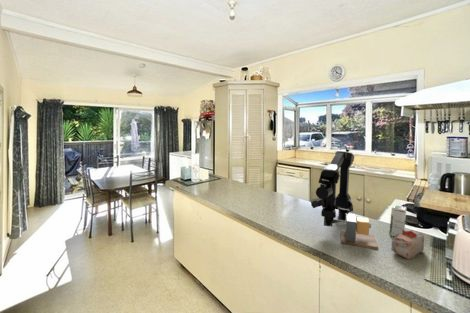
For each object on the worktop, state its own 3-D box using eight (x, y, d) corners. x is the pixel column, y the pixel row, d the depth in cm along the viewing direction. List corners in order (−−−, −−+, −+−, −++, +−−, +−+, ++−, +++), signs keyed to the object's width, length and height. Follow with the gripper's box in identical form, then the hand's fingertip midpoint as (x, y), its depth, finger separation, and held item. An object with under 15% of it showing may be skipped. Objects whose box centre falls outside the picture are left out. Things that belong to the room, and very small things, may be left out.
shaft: (324, 222, 122) (324, 214, 121) (369, 228, 114) (370, 220, 114) (323, 225, 118) (324, 217, 118) (371, 231, 110) (371, 223, 110)
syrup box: (390, 231, 124) (392, 204, 122) (404, 234, 120) (406, 206, 118) (389, 235, 119) (391, 207, 118) (403, 238, 116) (405, 210, 114)
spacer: (355, 228, 117) (356, 216, 117) (367, 229, 116) (367, 217, 115) (356, 233, 112) (357, 221, 111) (368, 235, 110) (369, 222, 109)
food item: (410, 262, 96) (412, 239, 95) (389, 253, 103) (390, 231, 102) (425, 252, 103) (427, 230, 102) (404, 244, 110) (406, 224, 109)
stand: (340, 232, 123) (341, 212, 122) (373, 237, 118) (375, 216, 116) (341, 243, 112) (342, 221, 111) (378, 249, 107) (379, 225, 105)
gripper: (313, 188, 129) (312, 215, 131) (310, 197, 112) (309, 229, 114) (335, 189, 125) (334, 218, 127) (336, 200, 108) (335, 233, 110)
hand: (328, 224), depth 119 cm, fingers closed on shaft, 4 cm apart
